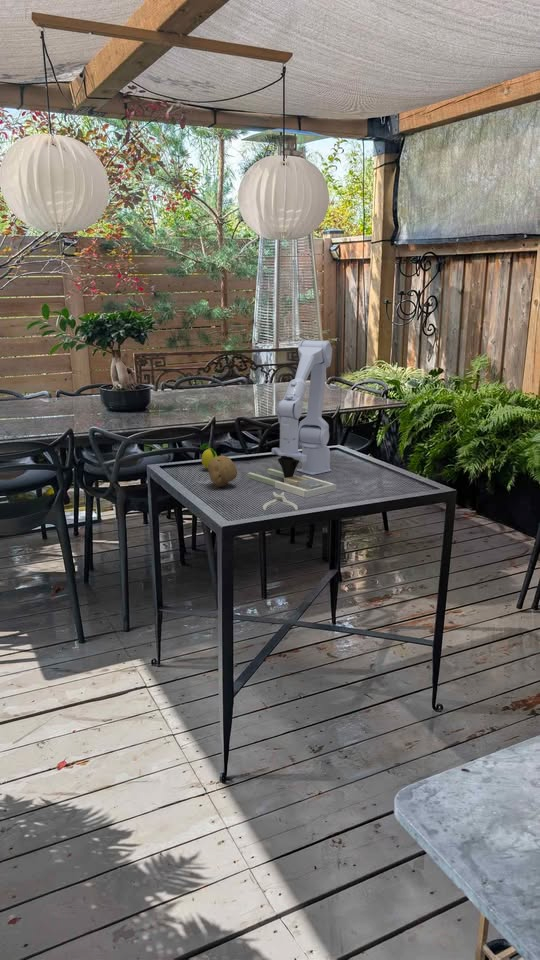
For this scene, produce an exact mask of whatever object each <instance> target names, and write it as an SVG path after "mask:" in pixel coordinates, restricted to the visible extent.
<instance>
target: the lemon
mask: <svg viewBox="0 0 540 960" xmlns="http://www.w3.org/2000/svg"><path fill="white" fill-rule="evenodd" d="M210 444H211V443H210V441H209V442H208V444H207V443H205V442H204V443H202V445H200V448H199V449H200V450H204V451H203V453H202V454H201V465H202V466H203V467H204V468H206V469H207V470H208V464H209V462H210V461H211V460H212V459H213V458H214V457H217V456H218V455H217V453H216V450H214V448H212V447H211V445H210Z"/></svg>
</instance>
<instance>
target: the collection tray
mask: <svg viewBox="0 0 540 960" xmlns="http://www.w3.org/2000/svg"><path fill="white" fill-rule="evenodd" d="M300 477H302V478H306V479H311V480H314V481H318V482H321V483H323V486H322V487H318V488H314V489H309V490H306V489H302V488H299V487H296V486H293V485H289V484H286V483H284V481H283V482H282V481H280V480H277V481H275V486H274V488H275V489H278V490H281V491H282V492H284V491H285V492H288V493H290V494H293V495H296V496H300V497H303V498H305V499H306V498H307V499H308V498H311V497H315V496H319V495H324V494H328V493H331V492H335V491H337V484H336V483H334V482H333V483H332V482H329V481H326V480H322V479H319V478H315V477H311V476H309V475H301V476H300Z"/></svg>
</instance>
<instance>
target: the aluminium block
mask: <svg viewBox="0 0 540 960" xmlns="http://www.w3.org/2000/svg"><path fill="white" fill-rule="evenodd" d="M322 486H323V483H321V482H318V481H314V480H311V479H307V480H303V481H298V487H299V488H302V489H306V490H309V489H314V488H318V487H322Z"/></svg>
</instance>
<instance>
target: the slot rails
mask: <svg viewBox="0 0 540 960" xmlns="http://www.w3.org/2000/svg"><path fill="white" fill-rule="evenodd" d="M246 473H247V474H246V478H247V479H251V480H255V481H256V482H257V481H258V482H261V483H264V484H268V485H270V486H273V487H275V481H278V480H277V479H273V478H271V477H267V476H264V475H261V474H257V473H255V472H246ZM266 473H267V474H268V475H271V476H275V477H278V478H281V479H284V474H283V471H280V470H277V469H273V468H271V467H270V468H267V469H266ZM293 476H296V475H293Z"/></svg>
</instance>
